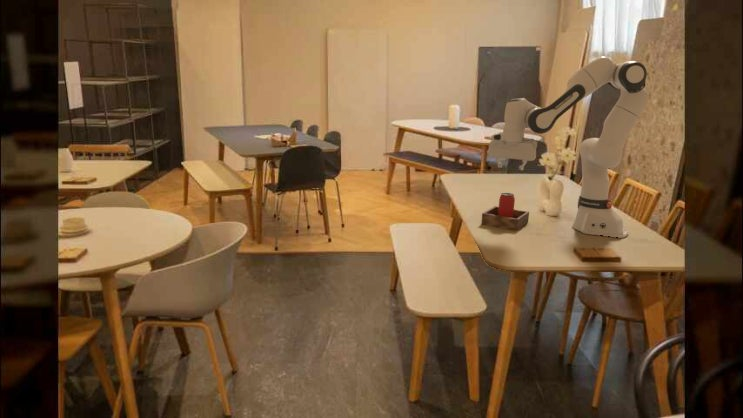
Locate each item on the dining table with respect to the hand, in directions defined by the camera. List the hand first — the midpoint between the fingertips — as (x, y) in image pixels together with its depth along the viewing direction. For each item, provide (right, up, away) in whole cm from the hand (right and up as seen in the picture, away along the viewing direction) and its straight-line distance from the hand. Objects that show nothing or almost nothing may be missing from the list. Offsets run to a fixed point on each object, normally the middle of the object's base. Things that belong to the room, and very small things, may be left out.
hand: (510, 168), depth 247 cm
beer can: (-1, -23, +6) cm, 24 cm away
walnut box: (-1, -24, +6) cm, 25 cm away
